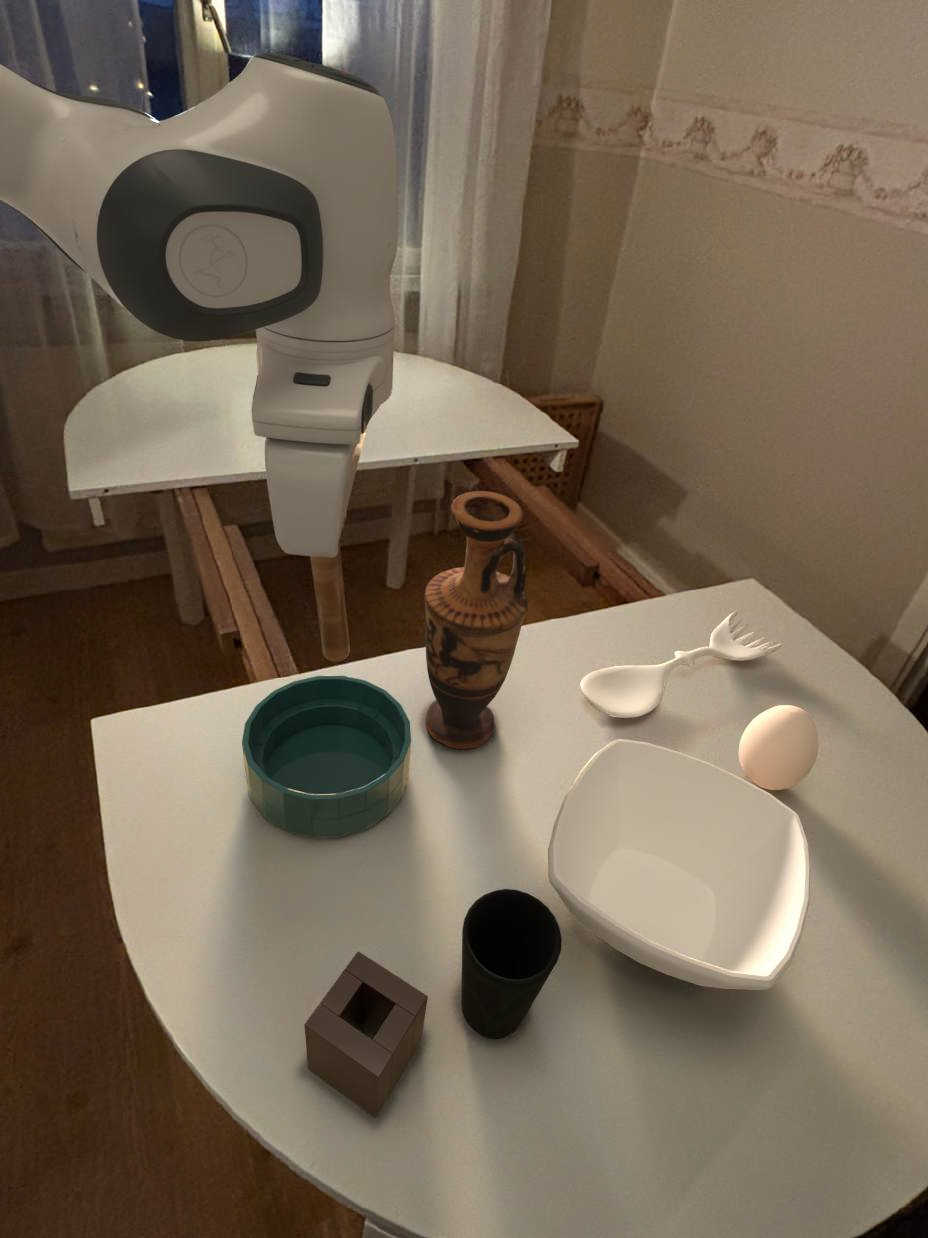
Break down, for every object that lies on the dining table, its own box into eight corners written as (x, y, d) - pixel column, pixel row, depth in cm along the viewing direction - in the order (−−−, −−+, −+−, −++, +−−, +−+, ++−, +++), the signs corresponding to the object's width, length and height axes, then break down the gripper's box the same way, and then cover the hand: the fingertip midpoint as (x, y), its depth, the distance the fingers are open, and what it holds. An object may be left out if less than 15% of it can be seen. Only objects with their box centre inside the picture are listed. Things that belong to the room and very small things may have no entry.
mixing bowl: (345, 871, 72) (344, 828, 68) (213, 791, 78) (205, 747, 74) (435, 759, 85) (440, 717, 80) (316, 698, 90) (315, 655, 86)
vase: (412, 755, 85) (430, 534, 66) (416, 689, 93) (433, 476, 75) (505, 761, 86) (550, 543, 67) (501, 695, 94) (539, 486, 75)
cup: (488, 1073, 60) (508, 1006, 52) (431, 996, 64) (442, 924, 56) (555, 1013, 64) (582, 943, 56) (497, 945, 68) (515, 871, 61)
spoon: (777, 661, 105) (786, 643, 103) (608, 738, 90) (615, 718, 88) (729, 625, 111) (737, 607, 109) (563, 691, 96) (568, 672, 94)
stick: (340, 671, 64) (318, 482, 53) (318, 662, 65) (292, 474, 54) (356, 655, 66) (339, 469, 54) (334, 646, 67) (313, 461, 55)
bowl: (743, 1084, 61) (796, 1022, 54) (501, 954, 67) (519, 883, 60) (779, 876, 77) (824, 807, 70) (581, 787, 84) (603, 716, 76)
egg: (767, 818, 83) (806, 750, 76) (713, 769, 88) (745, 701, 81) (809, 790, 87) (850, 723, 80) (755, 744, 92) (789, 678, 85)
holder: (375, 1119, 56) (378, 1078, 51) (307, 1068, 59) (303, 1024, 54) (421, 1040, 61) (428, 996, 56) (356, 996, 63) (357, 950, 58)
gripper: (305, 311, 57) (311, 472, 66) (243, 422, 41) (262, 615, 50) (387, 319, 57) (382, 478, 66) (356, 432, 41) (356, 622, 50)
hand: (330, 538), depth 58 cm, fingers closed on stick, 2 cm apart
